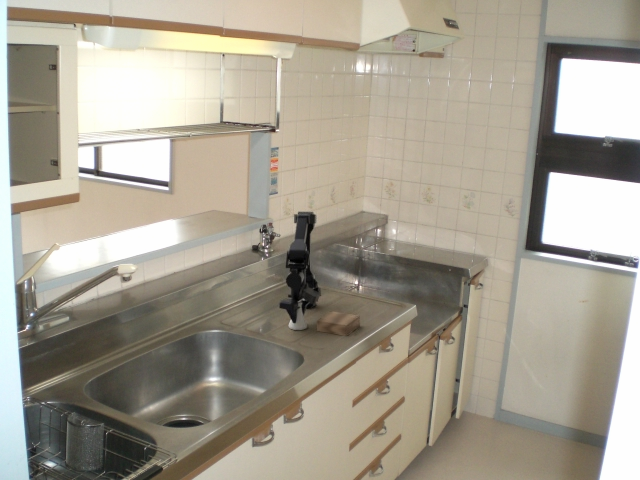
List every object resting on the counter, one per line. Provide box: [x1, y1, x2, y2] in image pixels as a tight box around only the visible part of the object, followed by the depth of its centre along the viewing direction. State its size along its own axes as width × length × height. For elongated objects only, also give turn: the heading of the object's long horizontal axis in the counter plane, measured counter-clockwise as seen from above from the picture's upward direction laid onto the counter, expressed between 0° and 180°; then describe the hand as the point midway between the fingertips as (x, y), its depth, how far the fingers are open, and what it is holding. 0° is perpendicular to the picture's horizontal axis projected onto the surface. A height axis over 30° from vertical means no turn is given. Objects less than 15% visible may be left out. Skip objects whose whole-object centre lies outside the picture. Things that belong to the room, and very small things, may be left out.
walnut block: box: [316, 311, 361, 337], centre depth 259 cm, size 12×12×4 cm
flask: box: [288, 301, 309, 331], centre depth 259 cm, size 7×7×10 cm
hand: (298, 320), depth 260 cm, fingers closed on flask, 5 cm apart
